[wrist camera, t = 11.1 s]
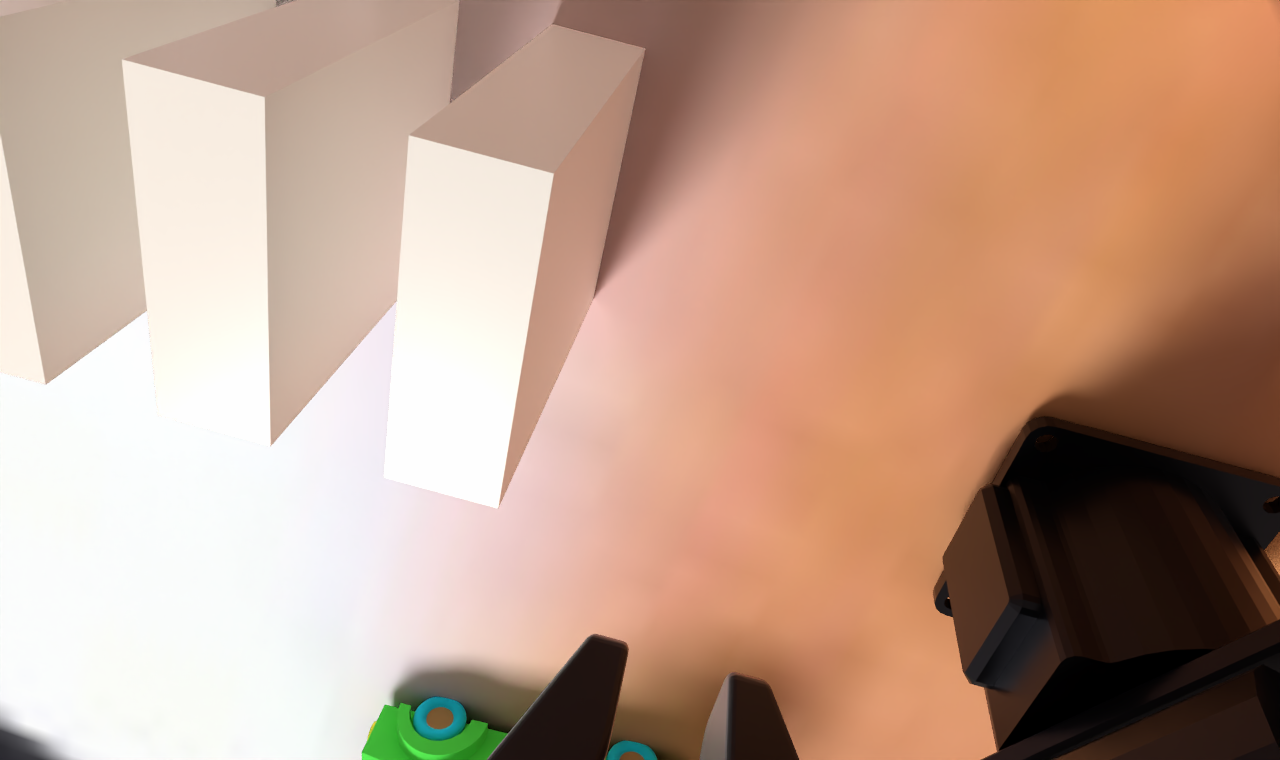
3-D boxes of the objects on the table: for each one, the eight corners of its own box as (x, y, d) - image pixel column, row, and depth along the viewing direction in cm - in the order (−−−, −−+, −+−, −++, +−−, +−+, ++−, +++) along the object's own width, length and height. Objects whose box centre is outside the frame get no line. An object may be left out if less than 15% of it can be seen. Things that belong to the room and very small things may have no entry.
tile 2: (460, -1, 19) (264, 96, 12) (435, 256, 22) (270, 446, 15) (367, -25, 19) (121, 58, 12) (356, 235, 22) (158, 415, 15)
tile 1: (645, 48, 19) (553, 173, 12) (593, 298, 22) (497, 508, 15) (552, 24, 19) (409, 135, 12) (514, 277, 22) (383, 477, 15)
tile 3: (275, -49, 19) (-20, 21, 12) (278, 214, 22) (45, 384, 15) (184, -73, 19) (-161, -16, 12) (200, 193, 22) (-67, 354, 15)
